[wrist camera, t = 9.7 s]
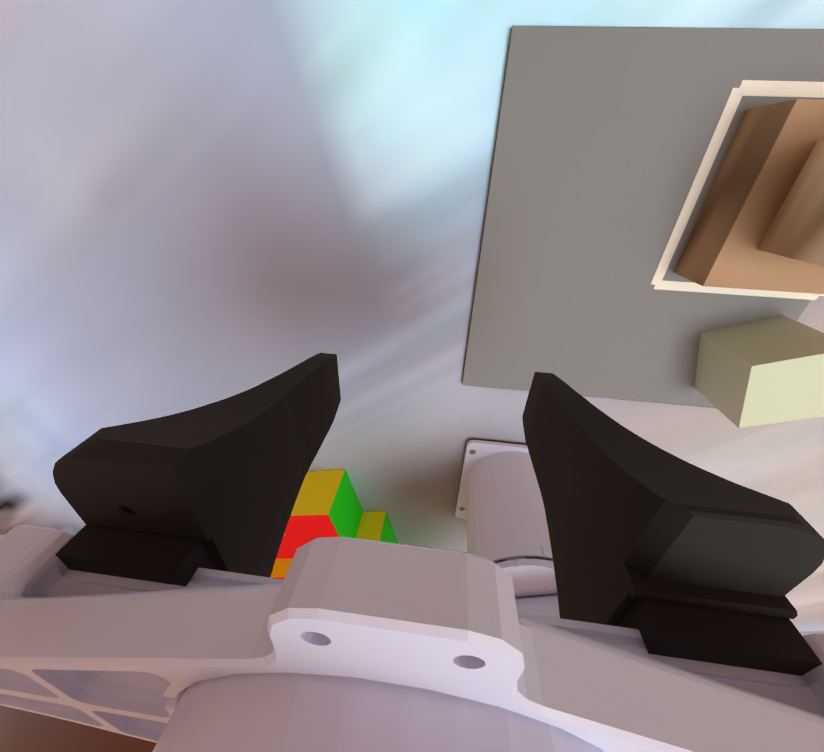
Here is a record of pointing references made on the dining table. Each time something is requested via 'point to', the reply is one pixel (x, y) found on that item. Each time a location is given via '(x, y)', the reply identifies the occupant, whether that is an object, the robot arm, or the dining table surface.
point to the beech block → (801, 216)
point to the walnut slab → (756, 203)
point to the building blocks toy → (328, 517)
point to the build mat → (619, 203)
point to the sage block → (763, 371)
